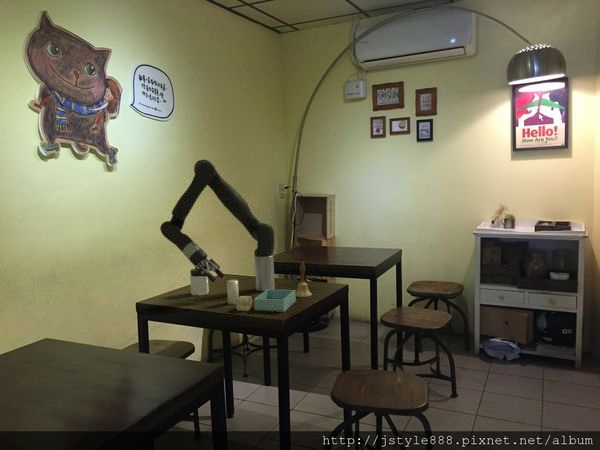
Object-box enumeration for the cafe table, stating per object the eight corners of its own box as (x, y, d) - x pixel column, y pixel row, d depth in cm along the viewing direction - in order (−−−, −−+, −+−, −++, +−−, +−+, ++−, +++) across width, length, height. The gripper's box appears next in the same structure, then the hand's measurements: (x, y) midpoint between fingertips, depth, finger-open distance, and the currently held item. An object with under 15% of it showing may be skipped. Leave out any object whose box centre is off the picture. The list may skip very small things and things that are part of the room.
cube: (241, 307, 207) (240, 296, 206) (252, 307, 205) (251, 296, 205) (236, 310, 202) (236, 299, 201) (247, 311, 200) (247, 299, 200)
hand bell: (303, 292, 229) (301, 259, 228) (315, 294, 223) (314, 261, 222) (290, 295, 223) (289, 262, 222) (302, 298, 217) (301, 264, 216)
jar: (207, 295, 230) (205, 271, 229) (190, 296, 230) (188, 271, 229) (209, 291, 239) (208, 267, 238) (193, 291, 239) (192, 268, 238)
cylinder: (230, 301, 218) (229, 279, 217) (240, 301, 216) (239, 279, 215) (226, 303, 213) (224, 282, 212) (236, 304, 212) (235, 282, 211)
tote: (268, 300, 217) (267, 289, 216) (295, 301, 213) (295, 290, 212) (254, 310, 200) (253, 299, 200) (284, 311, 196) (283, 300, 196)
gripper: (191, 250, 210) (217, 276, 208) (206, 245, 223) (230, 270, 221) (181, 262, 212) (206, 288, 210) (197, 256, 225) (220, 281, 223)
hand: (218, 278), depth 215 cm, fingers open, 8 cm apart
